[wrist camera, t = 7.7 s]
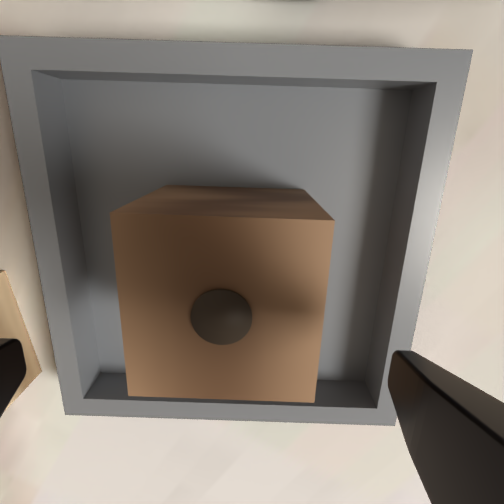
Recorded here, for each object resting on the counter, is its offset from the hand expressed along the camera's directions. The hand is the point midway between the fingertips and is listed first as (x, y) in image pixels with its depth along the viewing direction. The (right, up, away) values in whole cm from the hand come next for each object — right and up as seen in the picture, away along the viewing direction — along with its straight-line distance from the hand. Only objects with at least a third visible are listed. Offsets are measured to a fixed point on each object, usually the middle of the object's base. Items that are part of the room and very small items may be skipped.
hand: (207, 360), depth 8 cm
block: (0, +3, +7) cm, 8 cm away
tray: (0, +3, +8) cm, 9 cm away
